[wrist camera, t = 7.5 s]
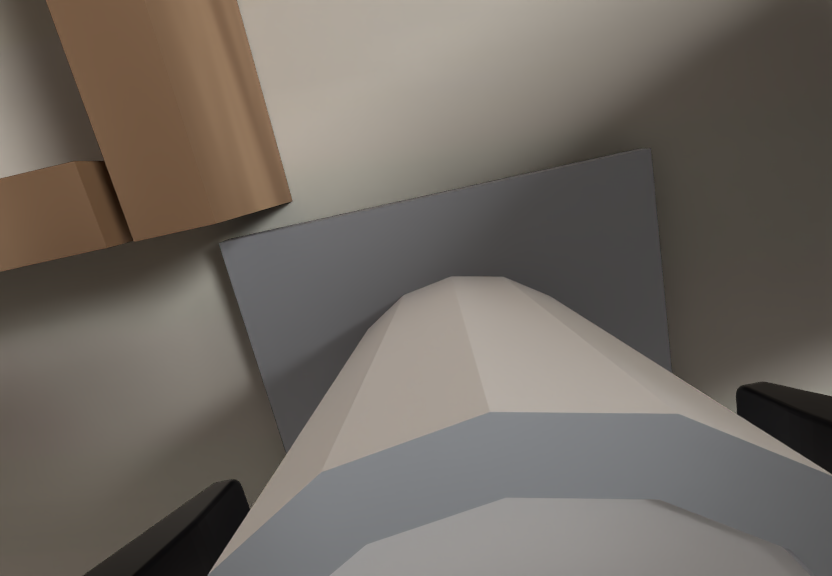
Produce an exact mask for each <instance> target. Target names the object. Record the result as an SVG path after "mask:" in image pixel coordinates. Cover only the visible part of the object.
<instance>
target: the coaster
mask: <svg viewBox="0 0 832 576" xmlns="http://www.w3.org/2000/svg"><path fill="white" fill-rule="evenodd" d="M219 246H220V249H221V252H222V256H223V259H224V262H225V265H226V268H227V271H228V274H229V277H230V280H231V283H232V287H233V290H234V293H235V296H236V299H237V302H238V305H239V308H240V311H241V315H242V318H243V321H244V324H245V327H246V330H247V333H248V336H249V339H250V342H251V346H252V349H253V352H254V355H255V358H256V361H257V364H258V367H259V370H260V373H261V377H262V380H263V383H264V386H265V389H266V392H267V395H268V398H269V401H270V405H271V408H272V411H273V414H274V417H275V420H276V423H277V426H278V429H279V432H280V436H281V439H282V442H283V445H284V448H285V451H286V454H287V453H288V451H289V450H290V448H291V447H292V445H293V444H294V442H295V440H296V439H297V437H298V436H299V434H300V433H301V431H302V430H303V428H304V427H305V425H306V424H307V422H308V421H309V419H310V417H311V416H312V414H313V413H314V411H315V410H316V408H317V407H318V405H319V404H320V402H321V401H322V399H323V398H324V396H325V394H326V393H327V391H328V390H329V388H330V387H331V385H332V384H333V382H334V381H335V379H336V378H337V376H338V375H339V373H340V371H341V370H342V368H343V367H344V365H345V364H346V362H347V361H348V359H349V358H350V356H351V355H352V353H353V352H354V350H355V348H356V347H357V345H358V344H359V342H360V341H361V339H362V338H363V336H364V335H365V333H366V332H367V330H368V329H369V328H370V327H371V326H372V325H373V324H374V323H375V322H376V321H377V320H378V319H379V318H380V317H381V316H382V315H383V314H384V313H385V312H386V311H387V310H388V309H390V308H391V307H392V306H393V305H394V304H395V303H396V302H397V301H398V300H399V299H400V298H401V297H402V296H403V295H405V294H407V293H410V292H413V291H415V290H418V289H420V288H423V287H425V286H428V285H430V284H433V283H435V282H438V281H440V280H443V279H446V278H448V277H451V276H489V277H505V278H508V279H510V280H512V281H515V282H517V283H520V284H522V285H524V286H527V287H529V288H532V289H534V290H536V291H539V292H541V293H544V294H546V295H548V296H550V297H552V298H554V299H555V300H557V301H558V302H560V303H562V304H563V305H565V306H566V307H568V308H569V309H571V310H573V311H574V312H576V313H577V314H579V315H581V316H582V317H584V318H585V319H587V320H588V321H590V322H592V323H593V324H595V325H596V326H598V327H600V328H601V329H603V330H604V331H606V332H607V333H609V334H611V335H612V336H614V337H615V338H617V339H619V340H620V341H622V342H623V343H625V344H626V345H628V346H630V347H631V348H633V349H634V350H636V351H638V352H639V353H641V354H642V355H644V356H645V357H647V358H649V359H650V360H652V361H653V362H655V363H657V364H658V365H660V366H661V367H663V368H664V369H666V370H668V371H669V372H671V373H672V367H671V356H670V346H669V335H668V324H667V314H666V303H665V292H664V282H663V271H662V260H661V250H660V239H659V229H658V218H657V207H656V197H655V186H654V175H653V165H652V154H651V148H644V149H635V150H631V151H626V152H621V153H617V154H612V155H608V156H603V157H599V158H594V159H590V160H585V161H581V162H576V163H572V164H567V165H562V166H558V167H553V168H549V169H544V170H540V171H535V172H531V173H526V174H522V175H517V176H513V177H508V178H503V179H499V180H494V181H490V182H485V183H481V184H476V185H472V186H467V187H463V188H458V189H454V190H449V191H444V192H440V193H435V194H431V195H426V196H422V197H417V198H413V199H408V200H404V201H399V202H395V203H390V204H386V205H381V206H376V207H372V208H367V209H363V210H358V211H354V212H349V213H345V214H340V215H336V216H331V217H327V218H322V219H317V220H313V221H308V222H304V223H299V224H295V225H290V226H286V227H281V228H277V229H272V230H268V231H263V232H258V233H254V234H249V235H245V236H240V237H236V238H231V239H228V240H225V241H223V242H220V243H219Z"/></svg>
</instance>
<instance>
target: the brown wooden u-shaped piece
mask: <svg viewBox="0 0 832 576" xmlns="http://www.w3.org/2000/svg"><path fill="white" fill-rule="evenodd" d="M46 2H47V5H48V8H49V11H50V13H51V16H52V19H53V22H54V24H55V27H56V30H57V33H58V35H59V38H60V41H61V43H62V46H63V49H64V52H65V54H66V57H67V60H68V63H69V65H70V68H71V71H72V74H73V76H74V79H75V82H76V85H77V87H78V90H79V93H80V95H81V98H82V101H83V104H84V106H85V109H86V112H87V115H88V117H89V120H90V123H91V126H92V128H93V131H94V134H95V136H96V139H97V142H98V145H99V147H100V150H101V153H102V156H103V158H104V161H72V162H68V163H64V164H60V165H56V166H51V167H47V168H43V169H39V170H35V171H30V172H26V173H22V174H18V175H14V176H9V177H5V178H1V179H0V272H1V271H6V270H10V269H15V268H19V267H24V266H28V265H33V264H37V263H42V262H46V261H51V260H55V259H60V258H64V257H69V256H73V255H77V254H82V253H86V252H91V251H95V250H100V249H104V248H109V247H112V246H116V245H120V244H123V243H127V242H131V241H134V242H136V241H140V240H145V239H149V238H154V237H158V236H163V235H167V234H172V233H176V232H181V231H185V230H190V229H194V228H199V227H203V226H207V225H212V224H216V223H220V222H223V221H227V220H230V219H233V218H237V217H240V216H244V215H247V214H250V213H254V212H257V211H261V210H264V209H267V208H271V207H274V206H278V205H281V204H284V203H288V202H291V201H292V198H291V194H290V190H289V187H288V183H287V180H286V176H285V172H284V169H283V165H282V162H281V158H280V154H279V151H278V147H277V144H276V140H275V136H274V133H273V129H272V126H271V122H270V118H269V115H268V111H267V108H266V104H265V100H264V97H263V93H262V90H261V86H260V82H259V79H258V75H257V72H256V68H255V64H254V61H253V57H252V54H251V50H250V46H249V43H248V39H247V36H246V32H245V28H244V25H243V21H242V18H241V14H240V10H239V7H238V3H237V0H46Z"/></svg>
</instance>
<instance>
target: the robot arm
mask: <svg viewBox="0 0 832 576" xmlns="http://www.w3.org/2000/svg"><path fill="white" fill-rule="evenodd" d="M736 404H737V415H739V416H740V417H742V418H744V419H745V420H747V421H748V422H750V423H751V424H753V425H755V426H756V427H758V428H759V429H761V430H763V431H764V432H766V433H767V434H769V435H770V436H772V437H774V438H775V439H777V440H778V441H780V442H782V443H783V444H785V445H786V446H788V447H789V448H791V449H793V450H794V451H796V452H797V453H799V454H801V455H802V456H804V457H805V458H807V459H808V460H810V461H812V462H813V463H815V464H816V465H818V466H820V467H821V468H823V469H824V470H826V471H827V472H829V473H831V474H832V396H827V395H823V394H818V393H814V392H809V391H804V390H800V389H795V388H791V387H786V386H782V385H777V384H773V383H768V382H758V383H752V384H747V385H742V386H740V387H739V388H738V389H737V392H736ZM249 511H250V508H249V505H248V502H247V499H246V497H245V494H244V491H243V488H242V486H241V484H240V482H239V481H237V480H235V479H231V480H226V481H221V482H216V483H214V484H212V485H211V486H209V487H208V488H206V489H205V490H204V491H202V492H201V493H199V494H198V495H196V496H195V497H194V498H192V499H191V500H189V501H188V502H187V503H185V504H184V505H182V506H181V507H179V508H178V509H177V510H175V511H174V512H172V513H171V514H169V515H168V516H167V517H165V518H164V519H162V520H161V521H160V522H158V523H157V524H155V525H154V526H152V527H151V528H150V529H148V530H147V531H145V532H144V533H143V534H141V535H140V536H138V537H137V538H135V539H134V540H133V541H131V542H130V543H128V544H127V545H126V546H124V547H123V548H121V549H120V550H118V551H117V552H116V553H114V554H113V555H111V556H110V557H109V558H107V559H106V560H104V561H103V562H101V563H100V564H99V565H97V566H96V567H94V568H93V569H92V570H90V571H89V572H87V573H86V574H84V575H83V576H208V574H209V572H210V571H211V569H212V568H213V566H214V565H215V563H216V562H217V560H218V558H219V557H220V555H221V554H222V552H223V551H224V549H225V548H226V546H227V545H228V543H229V542H230V540H231V539H232V537H233V535H234V534H235V532H236V531H237V529H238V528H239V526H240V525H241V523H242V522H243V520H244V519H245V517H246V516H247V514H248V512H249Z"/></svg>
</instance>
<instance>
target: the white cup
mask: <svg viewBox="0 0 832 576" xmlns="http://www.w3.org/2000/svg"><path fill="white" fill-rule="evenodd" d="M208 576H832V474H831V473H829V472H827V471H826V470H824V469H823V468H821V467H820V466H818V465H816V464H815V463H813V462H812V461H810V460H808V459H807V458H805V457H804V456H802V455H801V454H799V453H797V452H796V451H794V450H793V449H791V448H789V447H788V446H786V445H785V444H783V443H782V442H780V441H778V440H777V439H775V438H774V437H772V436H770V435H769V434H767V433H766V432H764V431H763V430H761V429H759V428H758V427H756V426H755V425H753V424H751V423H750V422H748V421H747V420H745V419H744V418H742V417H740V416H739V415H737V414H736V413H734V412H732V411H731V410H729V409H728V408H726V407H725V406H723V405H721V404H720V403H718V402H717V401H715V400H714V399H712V398H710V397H709V396H707V395H706V394H704V393H702V392H701V391H699V390H698V389H696V388H695V387H693V386H691V385H690V384H688V383H687V382H685V381H683V380H682V379H680V378H679V377H677V376H676V375H674V374H672V373H671V372H669V371H668V370H666V369H664V368H663V367H661V366H660V365H658V364H657V363H655V362H653V361H652V360H650V359H649V358H647V357H645V356H644V355H642V354H641V353H639V352H638V351H636V350H634V349H633V348H631V347H630V346H628V345H626V344H625V343H623V342H622V341H620V340H619V339H617V338H615V337H614V336H612V335H611V334H609V333H607V332H606V331H604V330H603V329H601V328H600V327H598V326H596V325H595V324H593V323H592V322H590V321H588V320H587V319H585V318H584V317H582V316H581V315H579V314H577V313H576V312H574V311H573V310H571V309H569V308H568V307H566V306H565V305H563V304H562V303H560V302H558V301H557V300H555V299H554V298H552V297H550V296H548V295H546V294H544V293H541V292H539V291H536V290H534V289H532V288H529V287H527V286H524V285H522V284H520V283H517V282H515V281H512V280H510V279H508V278H505V277H489V276H451V277H448V278H446V279H443V280H440V281H438V282H435V283H433V284H430V285H428V286H425V287H423V288H420V289H418V290H415V291H413V292H410V293H407V294H405V295H403V296H402V297H401V298H400V299H399V300H398V301H397V302H396V303H395V304H394V305H393V306H392V307H391V308H390V309H388V310H387V311H386V312H385V313H384V314H383V315H382V316H381V317H380V318H379V319H378V320H377V321H376V322H375V323H374V324H373V325H372V326H371V327H370V328H369V329H368V330H367V332H366V333H365V335H364V336H363V338H362V339H361V341H360V342H359V344H358V345H357V347H356V348H355V350H354V352H353V353H352V355H351V356H350V358H349V359H348V361H347V362H346V364H345V365H344V367H343V368H342V370H341V371H340V373H339V375H338V376H337V378H336V379H335V381H334V382H333V384H332V385H331V387H330V388H329V390H328V391H327V393H326V394H325V396H324V398H323V399H322V401H321V402H320V404H319V405H318V407H317V408H316V410H315V411H314V413H313V414H312V416H311V417H310V419H309V421H308V422H307V424H306V425H305V427H304V428H303V430H302V431H301V433H300V434H299V436H298V437H297V439H296V440H295V442H294V444H293V445H292V447H291V448H290V450H289V451H288V453H287V454H286V456H285V457H284V459H283V460H282V462H281V463H280V465H279V467H278V468H277V470H276V471H275V473H274V474H273V476H272V477H271V479H270V480H269V482H268V483H267V485H266V486H265V488H264V489H263V491H262V493H261V494H260V496H259V497H258V499H257V500H256V502H255V503H254V505H253V506H252V508H251V509H250V511H249V512H248V514H247V516H246V517H245V519H244V520H243V522H242V523H241V525H240V526H239V528H238V529H237V531H236V532H235V534H234V535H233V537H232V539H231V540H230V542H229V543H228V545H227V546H226V548H225V549H224V551H223V552H222V554H221V555H220V557H219V558H218V560H217V562H216V563H215V565H214V566H213V568H212V569H211V571H210V572H209V574H208Z"/></svg>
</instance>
